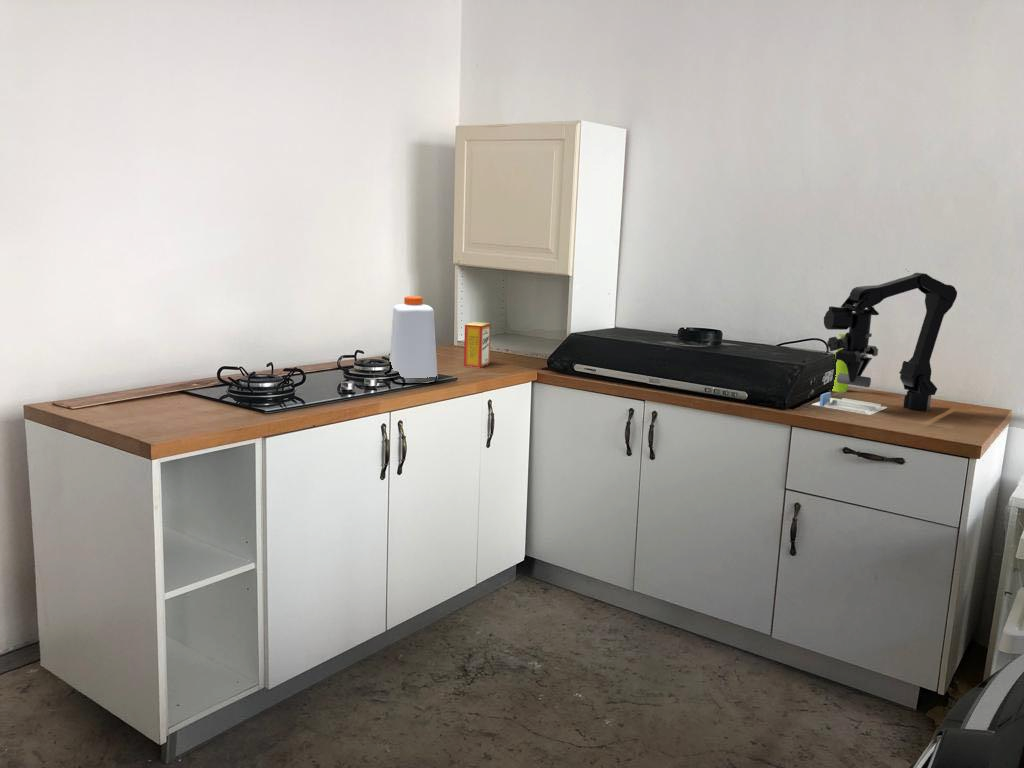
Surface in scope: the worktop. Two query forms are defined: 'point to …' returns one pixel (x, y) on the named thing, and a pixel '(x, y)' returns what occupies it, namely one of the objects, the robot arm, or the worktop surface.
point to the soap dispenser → (840, 368)
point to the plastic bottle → (413, 339)
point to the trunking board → (849, 404)
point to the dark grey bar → (858, 381)
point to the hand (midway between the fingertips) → (853, 381)
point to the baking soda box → (477, 344)
